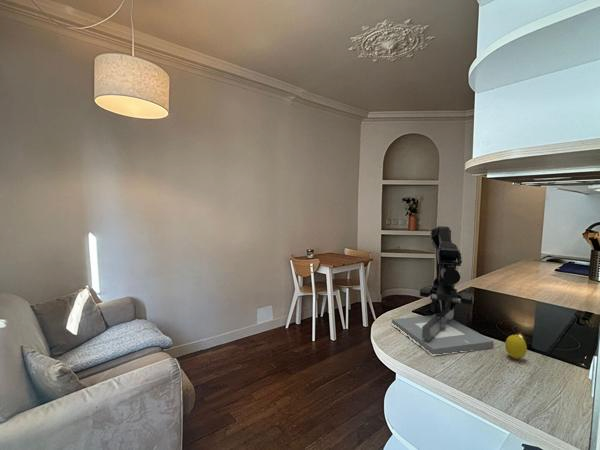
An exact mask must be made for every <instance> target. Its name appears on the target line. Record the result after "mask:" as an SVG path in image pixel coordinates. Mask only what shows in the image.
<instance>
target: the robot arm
mask: <svg viewBox="0 0 600 450" xmlns="http://www.w3.org/2000/svg"><path fill="white" fill-rule="evenodd" d="M429 239H430V240H431V245H432V246H433V248H434V250H435V253H434V255H435V278H434V280H433V281H432V284H431V286H422V288H421V289H420V290H419V296H420V297H423V298H424V297H425V298H429V299H430V309H431V311H432V312H433V313H432V312H431V313H432V314H434V313H440V312H441V311H442V310H443V309H445V308H446V307H447V306H450V309H452V311H453V309H454V310H455V307H456V306H457V305H460V304H461V303H462V304H465V305H469V306H470V305H473V304H474V294H473V293H468V292H461V294H460V293H459V294H458V290H457V288H455V285H456V284H458V283H460V280H461V274H460V272H459V270H457V267H461V265H462V264H463V259H462V253H461V251H460V249H458V246H457V244H456V243H453V242H452V230H451V229H450V226H449V227H448V226H443V225H442V226H436V228H432V229H431V230H430V235H429ZM449 302H450V305H449Z"/></svg>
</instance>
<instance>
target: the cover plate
mask: <svg viewBox="0 0 600 450" xmlns="http://www.w3.org/2000/svg"><path fill="white" fill-rule="evenodd" d="M433 315H434V314H432V315H422V316H412V317H403V318H401V317H400V318H392V319H391V324H392V323H393V324H394V325H396V326H397V327H399V328H400V329H401V330H402V331H404V332H405V333H406V334H407V335H409V336H410V337H411V338H412V339H414V340H415V341H416V342H418V343H419V344H420V345H421V346H423V347H424V348H425V349H426V350H428V351H429V352H430V353H432V354H443V353H452V352H460V351H470V350H477V351H482V350H481V349H484V350H492V349H494V340H492V339H490V338H488V337H487V336H484V335H483V334H481V333H479V332H478V331H476V330H474V329H472V328H470V327H468V326H466V325H464V324H462V323H460V322H459V321H457V320H455V319H453V318H452V319H451V320H450V321H449V322H448V323H447V324H446V328H445V329H441V330H440V331H439V332H438V333H436V334H435V335H434V336H433V337H432V338H431V339H430V340H427V339H423V338H422V328H423V326H424V325H425V324H426V323H428V322H429V321H430V320H431V319H432V318H433ZM470 352H471V351H470Z"/></svg>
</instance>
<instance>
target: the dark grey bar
mask: <svg viewBox="0 0 600 450" xmlns="http://www.w3.org/2000/svg"><path fill="white" fill-rule="evenodd" d="M454 313H455V308H454V309H453V311H452V309H450V305H448V306H447V307H446V308H445V309H443V310H442V311H441V312H440V313H438V314H434V313H433V314H432V315H433V318H432V319H431V320H430V321H429V322H428V323H426V324H425V325H424V326H423V328H422V338H423V339H427V340H430V339H431V338H432V337H433V336H434V335H435V334H436V333H438V332H439V331H440V330H441V329H445V328H446V324H447V323H448V322H449V321H450V320H451V319H453V318H454Z"/></svg>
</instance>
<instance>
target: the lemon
mask: <svg viewBox="0 0 600 450" xmlns="http://www.w3.org/2000/svg"><path fill="white" fill-rule="evenodd" d="M504 347H505V351H506V353H507V354H508V355H509V356H511V358H512V359H514V360H517V359H520V358H523V357H525V356H526V355H527V354H526V353H527V351H528V350H527V349H528V346H527V343H526V341H525V339H524V338H523V337H522V336H520V335H519V334H517V333H515V334H512V335H509V336H508V337H506V340H505V344H504Z"/></svg>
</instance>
